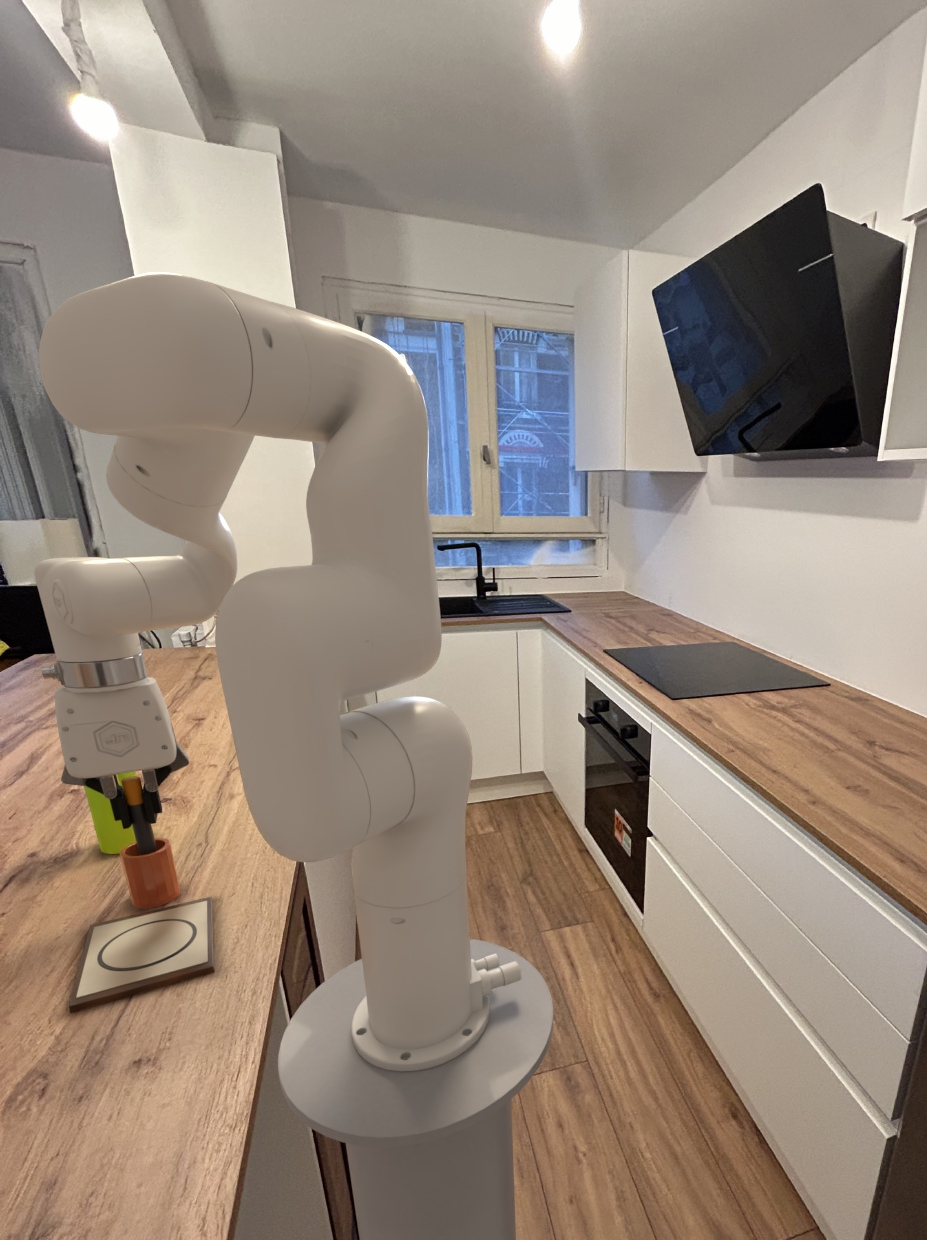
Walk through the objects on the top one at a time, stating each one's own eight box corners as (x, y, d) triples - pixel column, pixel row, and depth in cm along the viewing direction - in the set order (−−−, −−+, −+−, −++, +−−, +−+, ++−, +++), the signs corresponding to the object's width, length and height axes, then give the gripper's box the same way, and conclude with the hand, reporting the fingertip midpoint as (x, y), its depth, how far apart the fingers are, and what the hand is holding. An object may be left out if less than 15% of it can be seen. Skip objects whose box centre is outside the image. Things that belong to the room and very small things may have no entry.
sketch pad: (212, 901, 80) (211, 895, 80) (214, 972, 68) (213, 964, 68) (91, 930, 74) (89, 923, 74) (70, 1013, 62) (67, 1005, 62)
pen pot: (181, 882, 84) (170, 834, 82) (179, 901, 80) (168, 851, 78) (134, 892, 82) (122, 843, 79) (130, 912, 78) (117, 861, 75)
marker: (163, 871, 81) (140, 775, 77) (162, 877, 79) (139, 780, 75) (145, 874, 80) (122, 777, 76) (144, 881, 78) (120, 783, 74)
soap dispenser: (155, 847, 92) (125, 714, 86) (96, 857, 89) (59, 720, 83) (162, 830, 97) (133, 703, 91) (105, 838, 94) (72, 708, 88)
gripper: (1, 687, 65) (50, 851, 70) (188, 671, 72) (217, 819, 78) (19, 673, 71) (62, 824, 76) (189, 659, 79) (216, 797, 84)
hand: (140, 820), depth 77 cm, fingers closed on marker, 1 cm apart
